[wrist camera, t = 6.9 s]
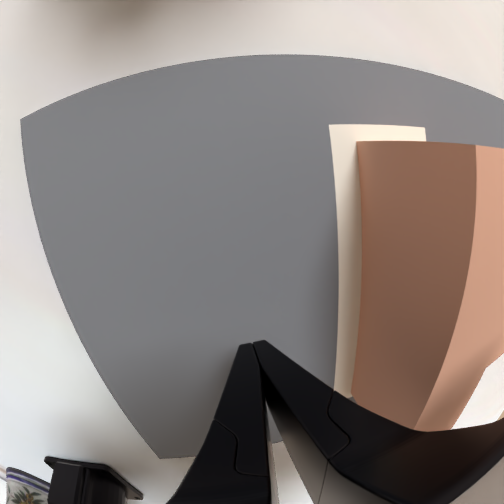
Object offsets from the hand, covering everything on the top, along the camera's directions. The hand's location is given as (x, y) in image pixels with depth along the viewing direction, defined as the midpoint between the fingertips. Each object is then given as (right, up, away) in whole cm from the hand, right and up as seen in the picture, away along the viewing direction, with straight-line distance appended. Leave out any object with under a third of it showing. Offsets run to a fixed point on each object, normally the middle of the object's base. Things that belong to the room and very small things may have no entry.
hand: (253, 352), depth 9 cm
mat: (+4, +2, +2) cm, 5 cm away
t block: (+9, +2, +3) cm, 10 cm away
